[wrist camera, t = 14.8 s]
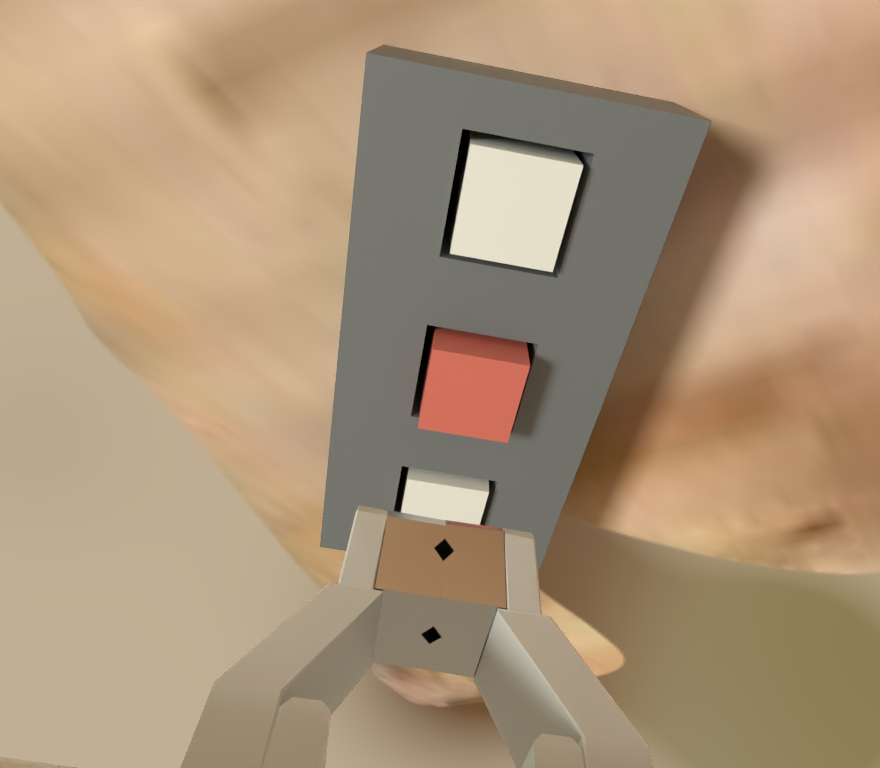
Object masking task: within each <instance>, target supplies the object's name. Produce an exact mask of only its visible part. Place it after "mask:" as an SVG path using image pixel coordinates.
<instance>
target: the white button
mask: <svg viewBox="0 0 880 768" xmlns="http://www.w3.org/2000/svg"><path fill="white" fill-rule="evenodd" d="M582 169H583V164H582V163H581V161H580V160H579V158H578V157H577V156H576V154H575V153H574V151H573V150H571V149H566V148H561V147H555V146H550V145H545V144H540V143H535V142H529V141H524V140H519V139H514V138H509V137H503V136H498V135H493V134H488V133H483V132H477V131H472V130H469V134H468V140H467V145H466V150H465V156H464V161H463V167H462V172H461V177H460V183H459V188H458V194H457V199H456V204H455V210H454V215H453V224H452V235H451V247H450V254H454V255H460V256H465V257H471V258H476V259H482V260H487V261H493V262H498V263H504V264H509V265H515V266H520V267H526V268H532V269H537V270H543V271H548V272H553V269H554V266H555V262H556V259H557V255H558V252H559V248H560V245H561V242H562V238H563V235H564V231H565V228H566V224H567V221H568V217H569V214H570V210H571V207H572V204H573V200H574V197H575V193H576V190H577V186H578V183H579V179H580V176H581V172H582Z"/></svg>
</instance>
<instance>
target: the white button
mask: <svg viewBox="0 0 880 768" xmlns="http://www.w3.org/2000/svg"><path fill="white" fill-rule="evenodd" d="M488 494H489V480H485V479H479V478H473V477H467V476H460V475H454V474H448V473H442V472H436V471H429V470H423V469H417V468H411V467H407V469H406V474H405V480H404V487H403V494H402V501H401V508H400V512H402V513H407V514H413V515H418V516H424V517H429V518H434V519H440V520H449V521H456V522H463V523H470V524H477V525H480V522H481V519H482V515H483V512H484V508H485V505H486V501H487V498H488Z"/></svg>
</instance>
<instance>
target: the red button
mask: <svg viewBox="0 0 880 768" xmlns="http://www.w3.org/2000/svg"><path fill="white" fill-rule="evenodd" d="M529 369H530V361H529V355H528V349H527V343H526V342H522V341H517V340H511V339H505V338H500V337H494V336H488V335H482V334H477V333H471V332H465V331H459V330H454V329H448V328H442V327H436V326H433V331H432V337H431V342H430V347H429V353H428V358H427V364H426V369H425V374H424V382H423V390H422V398H421V406H420V414H419V422H418V428H419V429H425V430H431V431H437V432H443V433H449V434H456V435H462V436H468V437H474V438H480V439H486V440H492V441H498V442H504V443H508V440H509V437H510V433H511V430H512V426H513V423H514V420H515V416H516V413H517V409H518V406H519V403H520V399H521V396H522V392H523V389H524V386H525V382H526V379H527V375H528V372H529Z"/></svg>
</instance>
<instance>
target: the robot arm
mask: <svg viewBox="0 0 880 768" xmlns="http://www.w3.org/2000/svg"><path fill="white" fill-rule="evenodd" d="M387 515H388V517H387ZM372 663H380V664H388V665H396V666H405V667H413V668H421V669H427V670H433V671H439V672H444V673H450V674H456V675H461V676H467V677H473V678H474V682H475V684H476V686H477V688H478V690H479V692H480V694H481V696H482V698H483V700H484V702H485V704H486V706H487V708H488V710H489V712H490V714H491V716H492V718H493V720H494V723H495V724H496V727H497V729H498V731H499V733H500V735H501V737H502V738H503V741H504V743H505V745H506V747H507V749H508V751H509V753H510V755H511V757H512V759H513V761H514V763H515V765H516V767H517V768H653V765H652V760H651V755H650V751H649V747H648V745H647V744H646V743H645V741H644V740H643V739H642V737H641V736H640V735H639V733H638V732H637V731H636V729H635V728H634V727H633V725H632V724H631V723H630V721H629V720H628V719H627V718H626V716H625V715H624V713H623V712H622V711H621V709H620V708H619V707H618V705H617V704H616V703H615V702H614V700H613V699H612V697H611V696H610V695H609V693H608V692H607V691H606V689H605V688H604V687H603V685H602V684H601V683H600V682H599V680H598V679H597V678H596V676H595V675H594V674H593V672H592V671H591V670H590V668H589V667H588V666H587V664H586V663H585V662H584V660H583V659H582V658H581V656H580V655H579V654H578V652H577V651H576V650H575V648H574V647H573V646H572V644H571V643H570V642H569V640H568V639H567V638H566V636H565V635H564V634H563V632H562V631H561V630H560V628H559V627H558V626H557V624H556V623H555V622H554V620H553V619H552V618H551V617H550V616H544V615H542V612H541V601H540V591H539V581H538V570H537V560H536V550H535V539H534V536H533V534H532V533H531V532H524V531H517V530H510V529H504V528H503V529H501V528H497V527H490V526H483V525H477V524H470V523H463V522H456V521H449V520H440V519H434V518H429V517H424V516H418V515H413V514H407V513H402V512H396V511H391V510H389V512H388V511H387V510H382V509H376V508H371V507H366V506H360V505H359V506H358V509H357V511H356V513H355V517H354V521H353V525H352V529H351V533H350V538H349V542H348V546H347V550H346V554H345V558H344V562H343V566H342V570H341V574H340V578H339V582H338V584H335V583H328V584H327V585H326V586H325V587H324V588H322V589H321V590H320V591H319V592H318V593H317V594H316V595H315V596H313V597H312V598H311V599H310V600H309V601H308V602H306V603H305V604H304V605H303V606H302V607H301V608H299V609H298V610H297V611H296V612H295V613H294V614H292V615H291V616H290V617H289V618H288V619H287V620H286V621H284V622H283V623H282V624H281V625H280V626H279V627H277V628H276V629H275V630H274V631H273V632H272V633H271V634H269V635H268V636H267V637H266V638H265V639H264V640H263V641H261V642H260V643H259V644H258V645H257V646H255V648H253V649H252V650H251V651H250V652H249V653H248V654H246V655H245V656H244V657H243V658H242V659H240V660H239V661H238V662H237V663H236V664H235V665H234V666H232V667H231V668H230V669H229V670H228V671H227V672H226V673H224V674H223V675H222V676H221V677H220V678H219V679H217V680H216V681H215V682H214V685H213V687H212V689H211V692H210V695H209V697H208V700H207V702H206V705H205V707H204V710H203V712H202V715H201V717H200V720H199V722H198V725H197V727H196V730H195V732H194V735H193V737H192V740H191V742H190V745H189V747H188V750H187V752H186V755H185V758H184V760H183V763H182V765H181V768H325V763H326V754H327V745H328V736H329V726H330V718H331V715H332V714H333V712H334V711H335V710H336V709H337V707H338V706H339V705H340V704H341V703H342V701H343V700H344V699H345V698H346V696H347V695H348V694H349V693H350V692H351V690H352V689H353V688H354V686H355V685H356V684H357V683H358V682H359V681H360V679H361V678H362V677H363V676H364V674H365V673H366V672H367V671H368V670H369V668H370V667H371V666H372ZM0 768H75V767H67V766H60V765H53V764H46V763H39V762H32V761H25V760H17V759H10V758H3V757H0Z"/></svg>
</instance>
